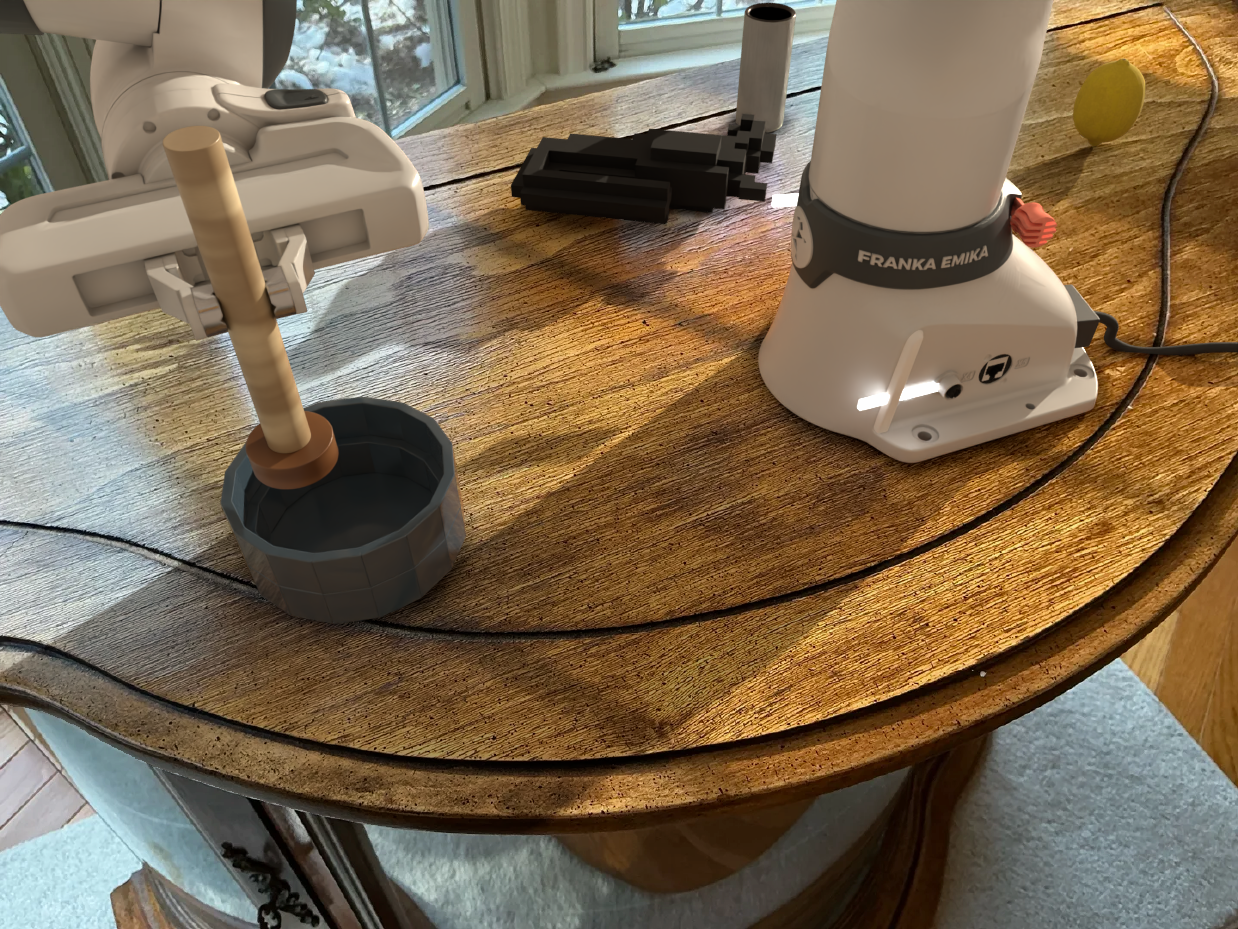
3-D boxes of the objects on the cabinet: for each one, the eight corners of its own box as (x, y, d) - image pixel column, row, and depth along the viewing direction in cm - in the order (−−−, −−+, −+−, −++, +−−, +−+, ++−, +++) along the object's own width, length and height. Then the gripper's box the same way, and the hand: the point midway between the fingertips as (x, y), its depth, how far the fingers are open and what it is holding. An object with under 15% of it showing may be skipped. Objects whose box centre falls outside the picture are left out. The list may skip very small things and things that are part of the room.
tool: (551, 85, 88) (504, 167, 77) (780, 104, 85) (763, 192, 75) (554, 141, 92) (510, 226, 81) (773, 162, 89) (756, 253, 78)
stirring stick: (291, 421, 54) (190, 104, 41) (355, 447, 52) (271, 127, 40) (234, 472, 51) (107, 149, 38) (301, 500, 50) (192, 175, 37)
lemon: (1049, 136, 92) (1077, 50, 86) (1100, 127, 93) (1130, 42, 87) (1086, 164, 88) (1118, 76, 83) (1138, 154, 89) (1173, 67, 84)
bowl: (460, 458, 62) (448, 386, 58) (473, 614, 54) (460, 542, 49) (261, 483, 61) (234, 410, 56) (242, 646, 52) (208, 576, 48)
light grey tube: (790, 118, 95) (804, 8, 87) (770, 137, 92) (782, 25, 85) (748, 107, 96) (758, -2, 89) (727, 126, 94) (735, 14, 86)
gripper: (-43, 161, 48) (-40, 317, 39) (371, 81, 54) (454, 200, 45) (14, 271, 52) (28, 434, 43) (390, 186, 58) (469, 312, 49)
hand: (249, 314), depth 44 cm, fingers closed on stirring stick, 2 cm apart
